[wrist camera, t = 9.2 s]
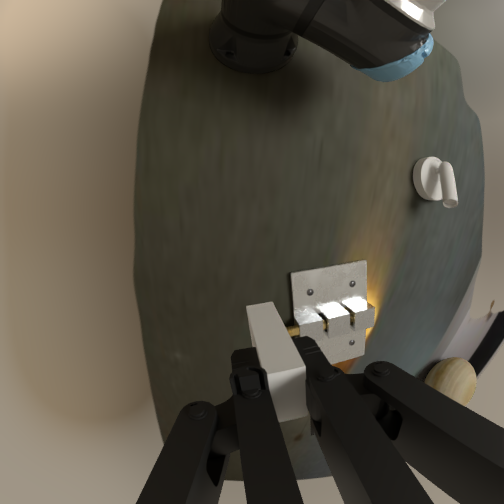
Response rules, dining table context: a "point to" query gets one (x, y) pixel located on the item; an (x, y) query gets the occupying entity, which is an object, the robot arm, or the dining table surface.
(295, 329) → the pin
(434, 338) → the dining table surface
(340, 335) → the hinge leaves
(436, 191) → the wall hook
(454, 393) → the decorative ball
